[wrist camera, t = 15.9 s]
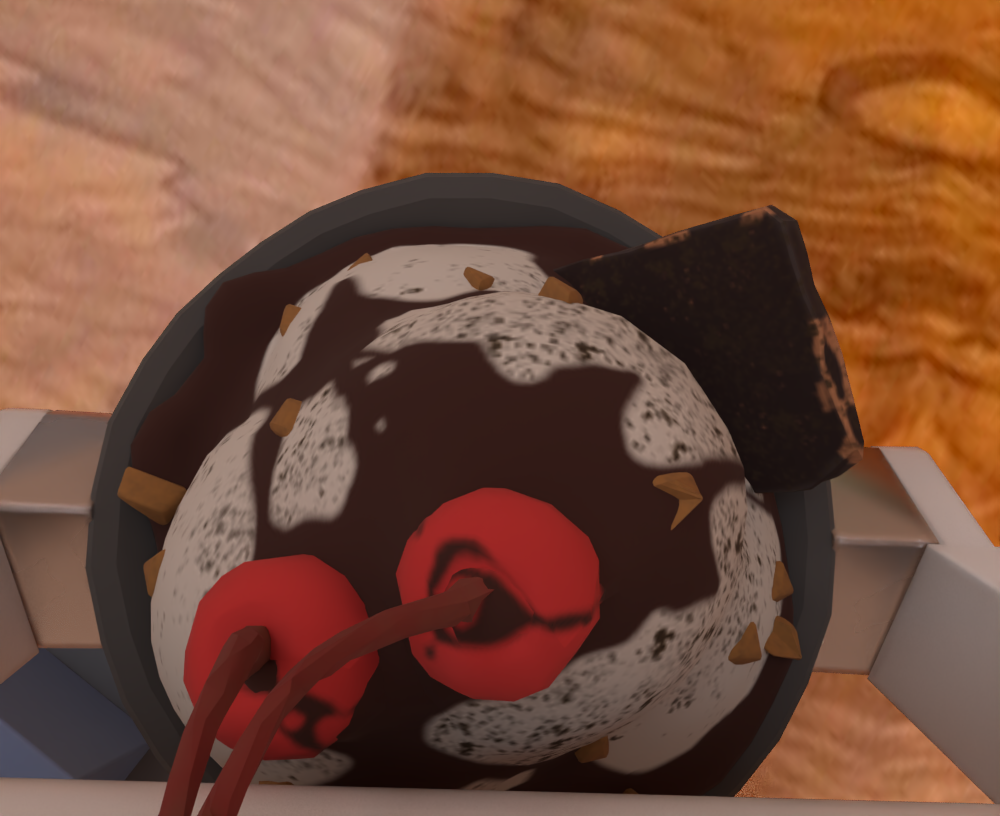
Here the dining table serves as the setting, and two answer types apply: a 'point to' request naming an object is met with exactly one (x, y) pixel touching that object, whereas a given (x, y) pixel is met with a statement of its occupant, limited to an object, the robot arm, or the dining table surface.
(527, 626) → the sundae
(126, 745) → the blue block
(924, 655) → the robot arm
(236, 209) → the dining table surface
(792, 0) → the dining table surface
